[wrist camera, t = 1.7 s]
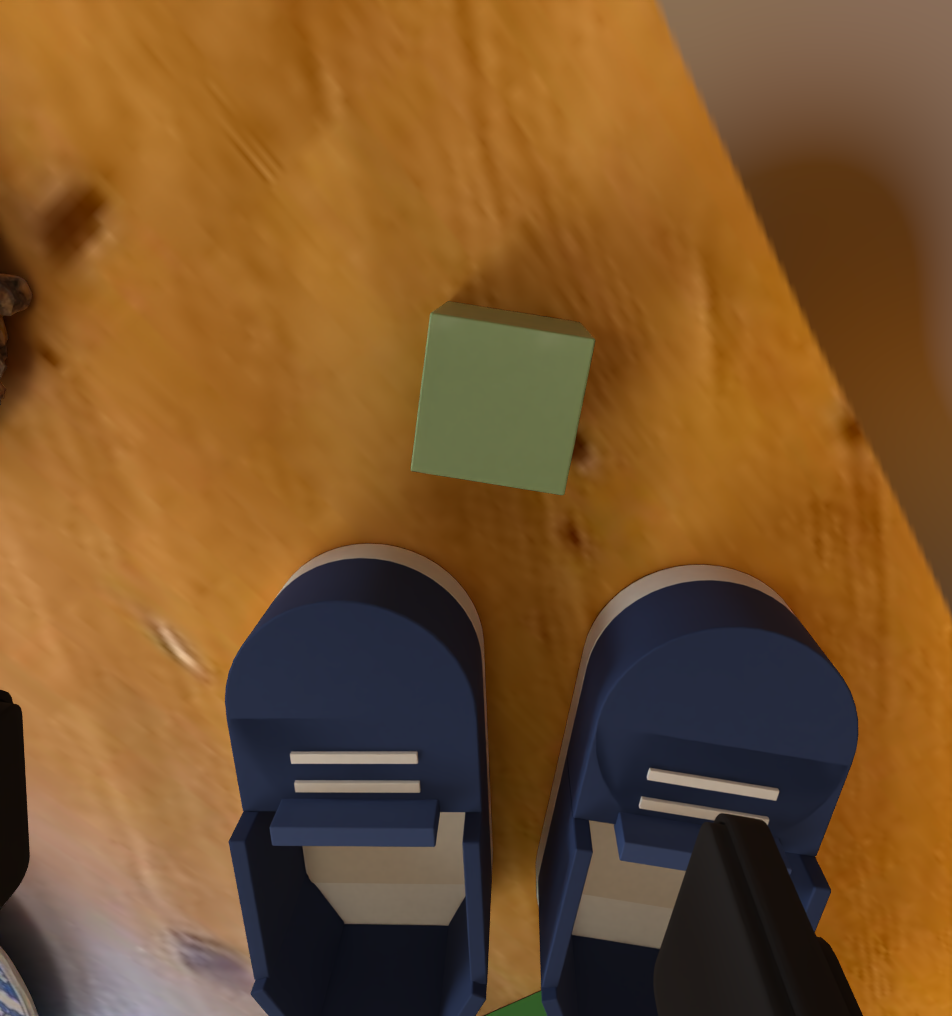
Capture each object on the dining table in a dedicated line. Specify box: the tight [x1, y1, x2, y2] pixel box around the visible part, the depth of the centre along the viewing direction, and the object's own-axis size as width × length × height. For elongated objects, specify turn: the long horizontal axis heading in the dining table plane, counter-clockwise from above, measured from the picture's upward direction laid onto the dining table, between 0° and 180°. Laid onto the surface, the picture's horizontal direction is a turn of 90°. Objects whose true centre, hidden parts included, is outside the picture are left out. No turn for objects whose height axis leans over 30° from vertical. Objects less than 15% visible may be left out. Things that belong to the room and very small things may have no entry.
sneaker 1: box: [225, 544, 493, 1016], centre depth 28 cm, size 19×9×7 cm, turn 2°
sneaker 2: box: [536, 565, 858, 1016], centre depth 28 cm, size 19×9×7 cm, turn 171°
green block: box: [411, 301, 595, 495], centre depth 23 cm, size 5×5×5 cm
